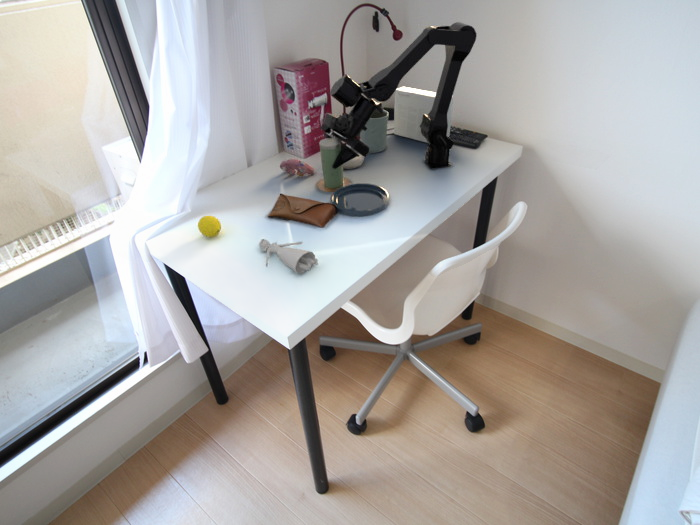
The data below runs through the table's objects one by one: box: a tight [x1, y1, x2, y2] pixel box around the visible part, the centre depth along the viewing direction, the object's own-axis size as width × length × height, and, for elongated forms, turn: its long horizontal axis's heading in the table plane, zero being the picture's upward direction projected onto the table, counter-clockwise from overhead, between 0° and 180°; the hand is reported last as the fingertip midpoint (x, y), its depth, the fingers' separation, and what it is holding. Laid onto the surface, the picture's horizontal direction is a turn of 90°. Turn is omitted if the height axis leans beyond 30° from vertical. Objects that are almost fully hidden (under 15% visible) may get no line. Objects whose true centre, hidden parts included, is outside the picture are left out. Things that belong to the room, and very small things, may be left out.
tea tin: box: [318, 138, 345, 188], centre depth 125 cm, size 6×6×13 cm
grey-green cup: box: [359, 109, 389, 154], centre depth 146 cm, size 10×10×12 cm
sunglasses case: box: [267, 193, 339, 229], centre depth 115 cm, size 18×7×7 cm, turn 66°
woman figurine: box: [258, 238, 319, 275], centre depth 100 cm, size 12×4×18 cm
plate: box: [329, 182, 390, 218], centre depth 119 cm, size 16×16×2 cm
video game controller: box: [279, 158, 315, 177], centre depth 134 cm, size 10×5×7 cm, turn 68°
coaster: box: [316, 177, 351, 193], centre depth 129 cm, size 10×10×1 cm
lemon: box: [197, 215, 222, 238], centre depth 109 cm, size 7×5×5 cm
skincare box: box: [393, 86, 454, 144], centre depth 149 cm, size 21×6×16 cm, turn 46°
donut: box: [343, 154, 365, 170], centre depth 140 cm, size 10×4×10 cm
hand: (328, 164), depth 124 cm, fingers closed on tea tin, 6 cm apart
